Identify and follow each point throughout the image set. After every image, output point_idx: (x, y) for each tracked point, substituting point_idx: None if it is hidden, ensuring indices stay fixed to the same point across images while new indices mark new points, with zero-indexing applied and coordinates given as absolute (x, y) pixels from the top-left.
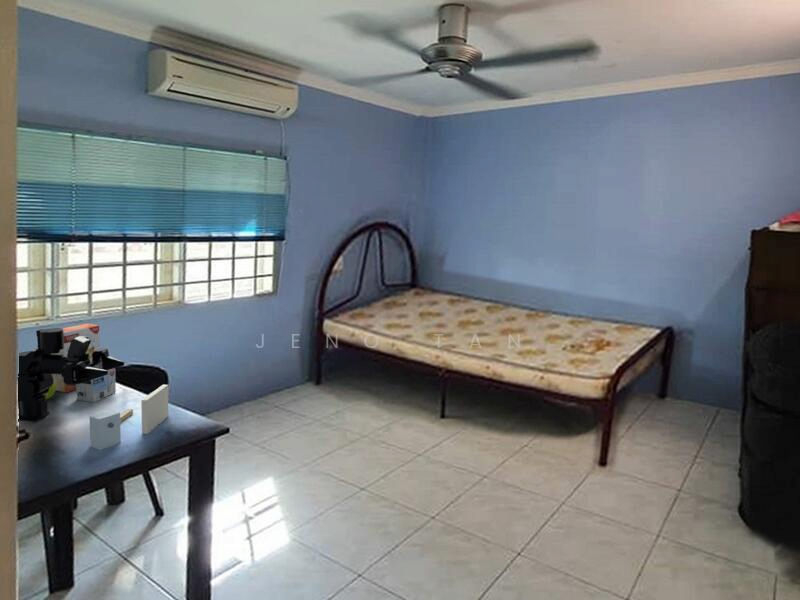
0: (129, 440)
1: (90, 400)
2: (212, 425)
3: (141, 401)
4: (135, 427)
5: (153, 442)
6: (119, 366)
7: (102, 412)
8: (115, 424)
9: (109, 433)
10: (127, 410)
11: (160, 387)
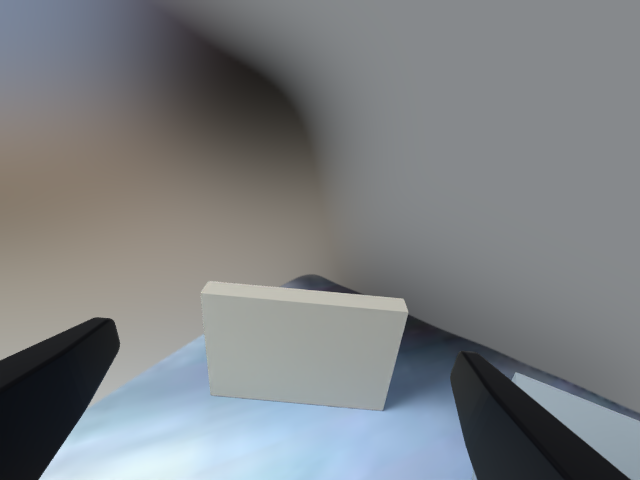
0: (445, 431)
1: None
2: (294, 285)
3: (406, 317)
4: (331, 458)
5: (424, 362)
6: (90, 399)
7: None
8: None
9: None
10: None
11: (242, 293)
